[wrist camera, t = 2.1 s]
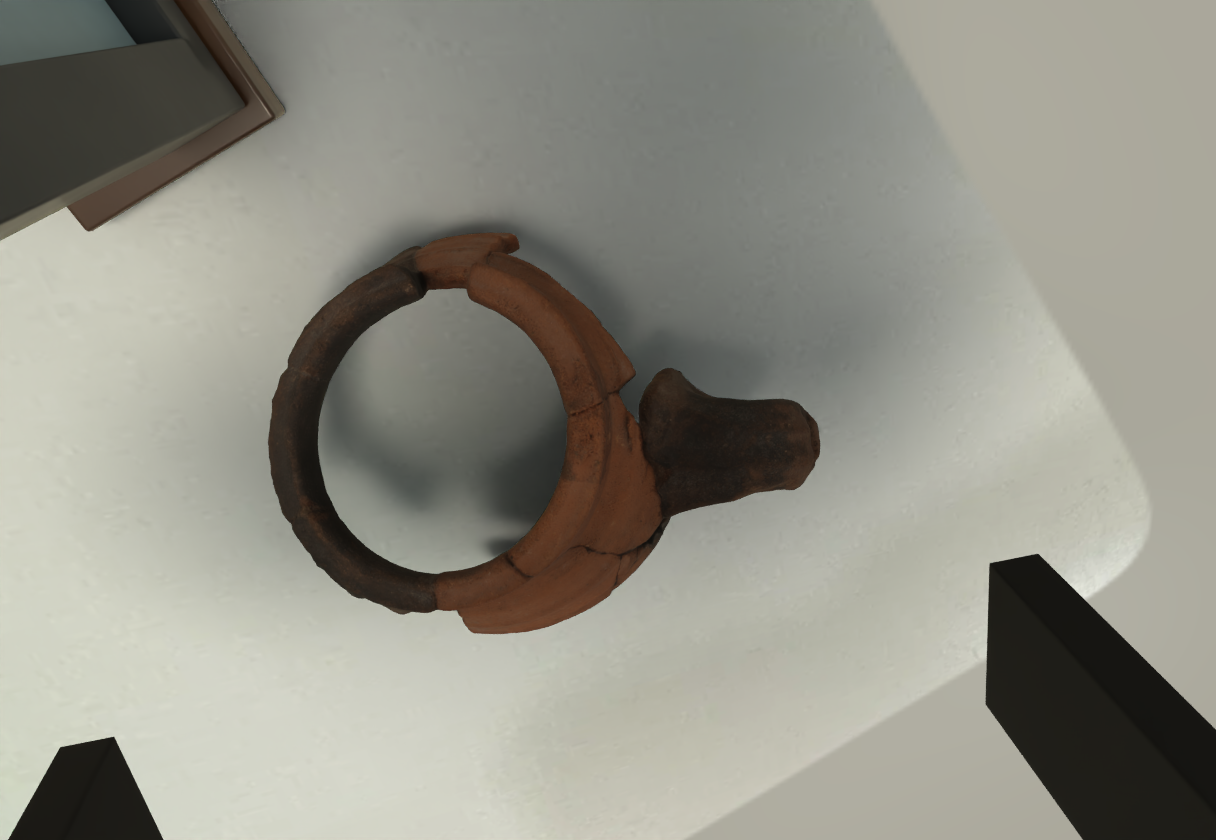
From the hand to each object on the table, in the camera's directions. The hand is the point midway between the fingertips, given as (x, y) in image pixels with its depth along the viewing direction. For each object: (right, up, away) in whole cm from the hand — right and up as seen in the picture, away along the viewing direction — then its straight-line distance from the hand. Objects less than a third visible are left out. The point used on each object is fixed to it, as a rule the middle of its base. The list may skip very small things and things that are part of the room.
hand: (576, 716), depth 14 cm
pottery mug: (-1, +5, +11) cm, 12 cm away
